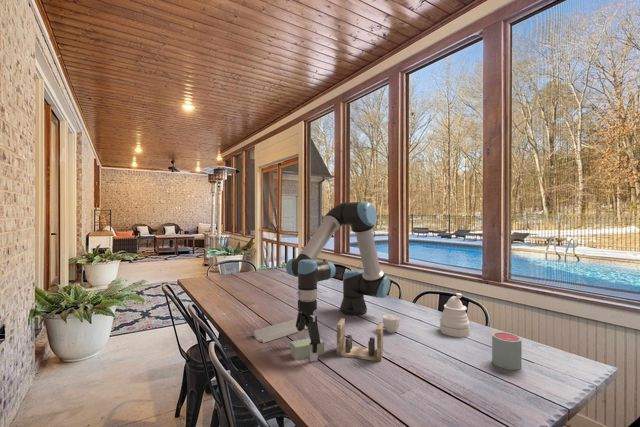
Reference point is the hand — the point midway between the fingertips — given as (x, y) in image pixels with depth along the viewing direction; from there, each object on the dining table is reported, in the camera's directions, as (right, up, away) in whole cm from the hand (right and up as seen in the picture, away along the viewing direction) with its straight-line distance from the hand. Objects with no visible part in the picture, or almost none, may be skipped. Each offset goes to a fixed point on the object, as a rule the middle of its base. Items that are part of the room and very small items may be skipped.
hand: (307, 353), depth 123 cm
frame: (+21, 0, 0) cm, 21 cm away
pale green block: (0, 0, 0) cm, 0 cm away
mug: (+75, 0, -6) cm, 75 cm away
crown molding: (-12, -1, +25) cm, 28 cm away
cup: (+39, -1, +25) cm, 47 cm away
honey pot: (+68, -1, +24) cm, 72 cm away
